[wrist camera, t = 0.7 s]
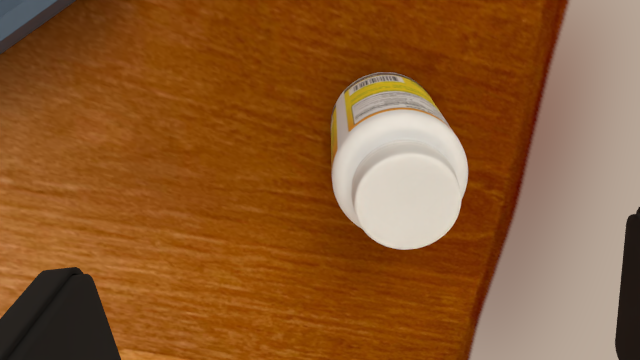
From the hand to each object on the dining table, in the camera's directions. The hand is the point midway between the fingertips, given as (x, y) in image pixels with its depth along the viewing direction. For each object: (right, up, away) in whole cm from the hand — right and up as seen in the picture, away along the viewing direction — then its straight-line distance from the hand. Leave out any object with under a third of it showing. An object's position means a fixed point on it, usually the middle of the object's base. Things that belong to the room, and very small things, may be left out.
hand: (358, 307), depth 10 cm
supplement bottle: (+3, +6, +20) cm, 21 cm away
